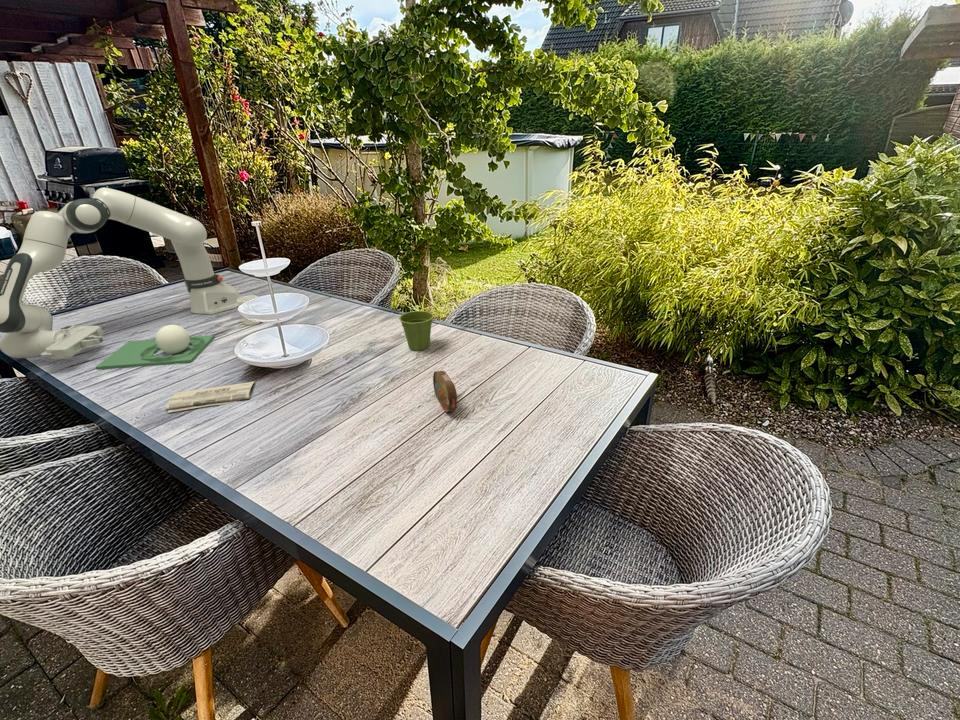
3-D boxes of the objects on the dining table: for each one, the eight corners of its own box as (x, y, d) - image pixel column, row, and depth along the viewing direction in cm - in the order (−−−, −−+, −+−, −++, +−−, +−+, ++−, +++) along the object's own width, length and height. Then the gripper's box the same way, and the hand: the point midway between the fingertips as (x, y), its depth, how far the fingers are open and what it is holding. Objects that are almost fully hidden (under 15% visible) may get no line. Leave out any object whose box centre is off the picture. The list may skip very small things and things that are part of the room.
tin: (433, 392, 140) (430, 366, 137) (443, 389, 141) (441, 364, 138) (448, 418, 128) (446, 391, 124) (459, 416, 129) (458, 388, 125)
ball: (169, 320, 171) (184, 344, 176) (143, 334, 164) (160, 359, 169) (185, 319, 166) (201, 343, 171) (159, 333, 159) (176, 359, 164)
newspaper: (164, 416, 133) (162, 408, 133) (179, 398, 145) (177, 391, 144) (252, 403, 138) (250, 395, 137) (259, 387, 149) (257, 379, 148)
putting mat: (96, 369, 159) (95, 366, 159) (130, 343, 178) (129, 340, 177) (191, 362, 162) (190, 360, 161) (214, 337, 181) (214, 335, 180)
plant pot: (438, 339, 173) (436, 310, 168) (432, 354, 163) (430, 323, 158) (406, 339, 175) (403, 310, 170) (398, 353, 164) (394, 322, 159)
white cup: (267, 318, 197) (262, 295, 192) (257, 326, 190) (251, 302, 185) (249, 318, 198) (243, 295, 193) (238, 325, 191) (232, 301, 186)
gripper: (32, 347, 154) (78, 344, 155) (72, 323, 172) (114, 321, 173) (40, 365, 156) (86, 362, 158) (79, 339, 175) (120, 337, 176)
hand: (101, 340), depth 165 cm, fingers closed
